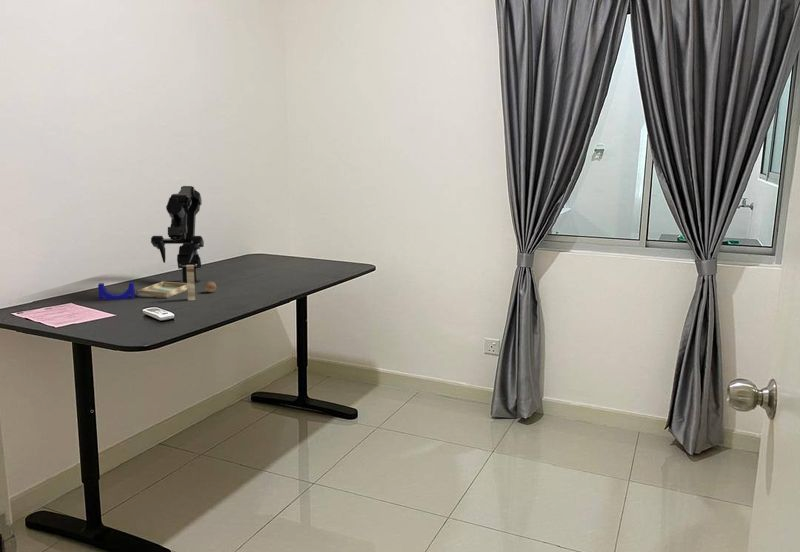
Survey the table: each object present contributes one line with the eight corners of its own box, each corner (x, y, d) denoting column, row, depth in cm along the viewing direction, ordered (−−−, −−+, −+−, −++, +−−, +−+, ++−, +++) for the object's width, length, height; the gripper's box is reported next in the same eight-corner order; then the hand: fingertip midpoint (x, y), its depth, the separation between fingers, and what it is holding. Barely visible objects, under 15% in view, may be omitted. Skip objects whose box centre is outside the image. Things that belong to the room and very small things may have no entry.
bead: (208, 290, 257) (207, 280, 256) (218, 291, 256) (218, 280, 255) (202, 293, 252) (202, 282, 251) (213, 293, 251) (212, 282, 251)
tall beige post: (187, 298, 243) (186, 265, 240) (195, 298, 243) (193, 264, 241) (187, 300, 240) (186, 266, 238) (195, 300, 241) (193, 266, 238)
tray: (162, 286, 262) (162, 281, 262) (191, 288, 260) (191, 283, 259) (136, 296, 245) (136, 290, 245) (167, 298, 243) (166, 292, 242)
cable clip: (135, 296, 245) (134, 281, 244) (134, 299, 241) (133, 283, 240) (101, 298, 242) (99, 282, 241) (99, 300, 238) (98, 285, 237)
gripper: (148, 216, 241) (146, 255, 236) (200, 216, 243) (198, 255, 239) (155, 227, 251) (153, 265, 247) (204, 227, 254) (203, 264, 249)
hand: (176, 262), depth 245 cm, fingers open, 9 cm apart
